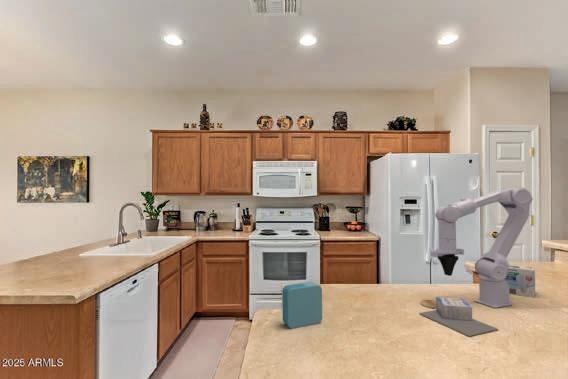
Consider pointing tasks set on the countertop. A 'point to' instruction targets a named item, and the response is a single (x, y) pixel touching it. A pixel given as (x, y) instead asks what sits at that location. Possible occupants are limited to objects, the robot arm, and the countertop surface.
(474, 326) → the mat
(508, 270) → the light bulb box
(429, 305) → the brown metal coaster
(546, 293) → the countertop surface
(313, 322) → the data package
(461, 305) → the medicine box
